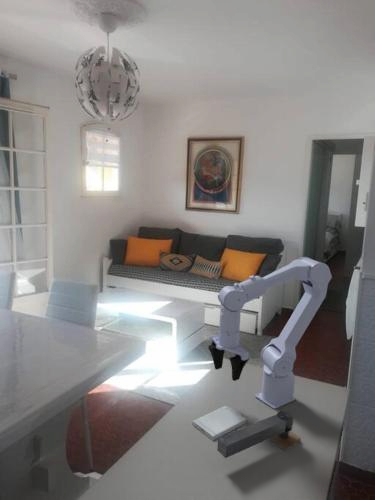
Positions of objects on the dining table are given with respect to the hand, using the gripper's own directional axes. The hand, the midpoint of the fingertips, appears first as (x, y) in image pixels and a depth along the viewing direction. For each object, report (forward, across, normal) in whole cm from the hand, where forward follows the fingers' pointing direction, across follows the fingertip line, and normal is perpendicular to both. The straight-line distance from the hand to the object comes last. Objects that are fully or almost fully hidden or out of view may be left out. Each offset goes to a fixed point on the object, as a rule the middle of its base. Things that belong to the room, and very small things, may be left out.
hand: (226, 373), depth 110 cm
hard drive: (+10, +6, -7) cm, 14 cm away
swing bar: (+6, +20, -7) cm, 22 cm away
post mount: (+9, +20, +2) cm, 22 cm away
